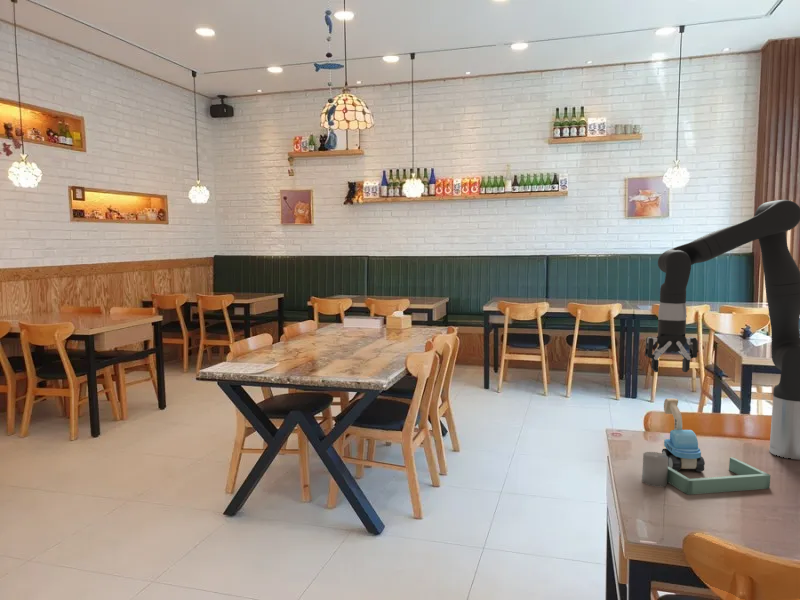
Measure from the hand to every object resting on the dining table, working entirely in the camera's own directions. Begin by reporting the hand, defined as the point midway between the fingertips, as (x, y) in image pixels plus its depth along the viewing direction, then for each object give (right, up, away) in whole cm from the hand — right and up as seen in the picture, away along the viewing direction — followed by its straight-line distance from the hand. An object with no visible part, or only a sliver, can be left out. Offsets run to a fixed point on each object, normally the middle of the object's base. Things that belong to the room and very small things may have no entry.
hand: (670, 371), depth 176 cm
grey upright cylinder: (-14, -26, -22) cm, 37 cm away
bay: (+1, -26, -21) cm, 34 cm away
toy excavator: (-2, -25, -9) cm, 27 cm away
